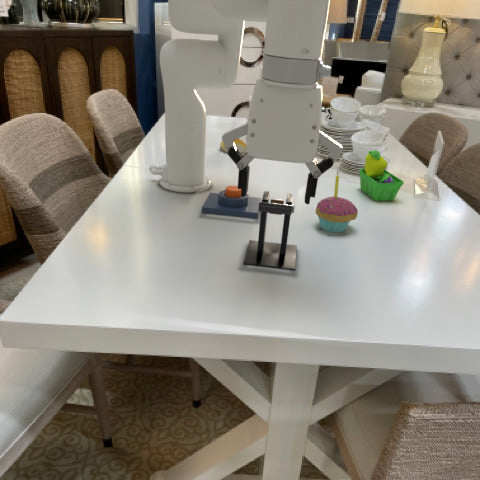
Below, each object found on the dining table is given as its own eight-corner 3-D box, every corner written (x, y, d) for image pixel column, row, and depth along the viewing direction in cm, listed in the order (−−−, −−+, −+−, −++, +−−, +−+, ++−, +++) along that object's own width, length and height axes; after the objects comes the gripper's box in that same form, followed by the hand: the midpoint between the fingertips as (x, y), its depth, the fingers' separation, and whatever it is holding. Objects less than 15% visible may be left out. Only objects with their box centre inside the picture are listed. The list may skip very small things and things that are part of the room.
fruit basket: (400, 202, 118) (412, 156, 112) (368, 202, 116) (378, 156, 110) (380, 187, 127) (390, 144, 121) (349, 188, 126) (358, 144, 119)
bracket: (294, 275, 82) (304, 209, 75) (243, 269, 82) (248, 203, 76) (295, 251, 90) (304, 190, 83) (249, 245, 90) (254, 184, 84)
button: (224, 197, 102) (224, 189, 101) (226, 192, 105) (227, 184, 104) (240, 199, 101) (241, 191, 100) (242, 194, 104) (243, 186, 103)
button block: (201, 216, 101) (202, 198, 99) (209, 201, 110) (210, 184, 107) (257, 223, 100) (258, 204, 98) (261, 207, 109) (262, 190, 107)
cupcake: (305, 225, 101) (313, 169, 94) (338, 221, 104) (348, 167, 98) (326, 241, 95) (337, 182, 88) (361, 237, 98) (374, 179, 91)
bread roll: (241, 147, 155) (241, 134, 153) (249, 154, 148) (250, 140, 146) (216, 147, 153) (217, 134, 151) (223, 154, 146) (224, 140, 144)
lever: (290, 218, 70) (293, 202, 70) (257, 215, 71) (259, 198, 70) (290, 215, 82) (292, 201, 81) (261, 212, 82) (263, 197, 82)
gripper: (353, 75, 65) (331, 195, 75) (229, 63, 66) (223, 183, 76) (358, 82, 59) (333, 213, 68) (221, 69, 60) (215, 199, 69)
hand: (275, 197), depth 72 cm, fingers open, 9 cm apart
